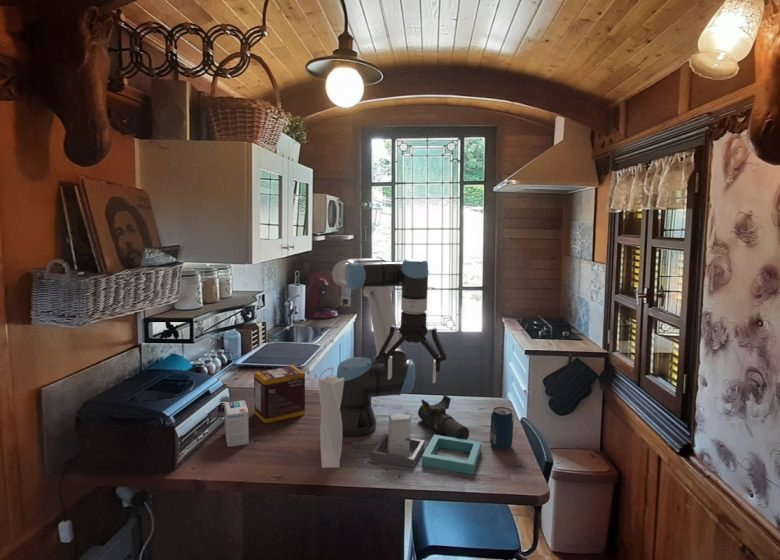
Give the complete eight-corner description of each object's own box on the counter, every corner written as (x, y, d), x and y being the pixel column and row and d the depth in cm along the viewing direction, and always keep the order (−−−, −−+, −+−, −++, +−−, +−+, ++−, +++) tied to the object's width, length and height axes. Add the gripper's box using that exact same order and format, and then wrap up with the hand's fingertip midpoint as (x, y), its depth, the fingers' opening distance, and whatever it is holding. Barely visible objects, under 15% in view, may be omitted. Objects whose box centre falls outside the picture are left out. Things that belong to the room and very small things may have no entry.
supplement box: (305, 414, 187) (305, 372, 185) (264, 424, 178) (263, 380, 176) (294, 405, 196) (293, 365, 193) (254, 413, 187) (253, 371, 185)
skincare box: (390, 458, 156) (391, 420, 154) (387, 451, 160) (387, 414, 158) (410, 456, 157) (411, 418, 156) (406, 449, 162) (407, 412, 160)
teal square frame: (421, 465, 152) (422, 455, 152) (433, 443, 166) (434, 434, 166) (473, 474, 147) (473, 464, 147) (480, 451, 162) (481, 442, 161)
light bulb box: (224, 433, 171) (223, 401, 169) (245, 430, 173) (244, 399, 172) (227, 447, 161) (226, 414, 159) (249, 444, 164) (248, 411, 162)
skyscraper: (319, 456, 156) (319, 366, 152) (344, 455, 157) (344, 366, 153) (317, 469, 149) (317, 375, 144) (343, 469, 149) (344, 375, 145)
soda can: (514, 444, 166) (516, 409, 164) (507, 453, 160) (509, 416, 159) (494, 439, 170) (495, 404, 168) (486, 447, 164) (488, 411, 162)
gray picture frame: (371, 460, 155) (371, 452, 154) (385, 441, 167) (385, 434, 167) (413, 467, 151) (413, 459, 150) (424, 447, 163) (424, 440, 163)
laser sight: (449, 447, 164) (450, 417, 162) (411, 421, 183) (412, 394, 182) (473, 441, 169) (475, 411, 167) (434, 416, 188) (435, 389, 186)
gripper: (370, 311, 152) (368, 380, 156) (455, 316, 148) (452, 387, 152) (375, 306, 160) (374, 372, 163) (456, 311, 155) (454, 379, 159)
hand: (411, 380), depth 157 cm, fingers open, 13 cm apart
